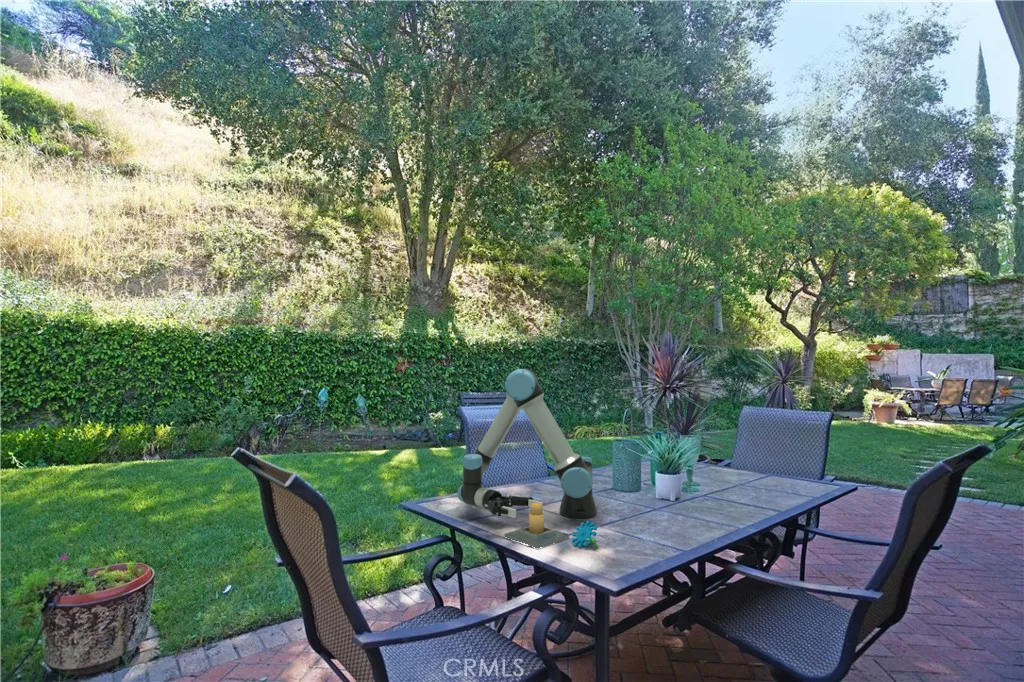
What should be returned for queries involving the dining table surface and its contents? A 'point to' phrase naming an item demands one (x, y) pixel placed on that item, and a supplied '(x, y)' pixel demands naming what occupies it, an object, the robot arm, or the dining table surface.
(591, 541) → the gear
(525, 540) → the junction box
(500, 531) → the dining table surface
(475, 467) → the robot arm
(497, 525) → the dining table surface
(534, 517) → the stacked tan cylinders
